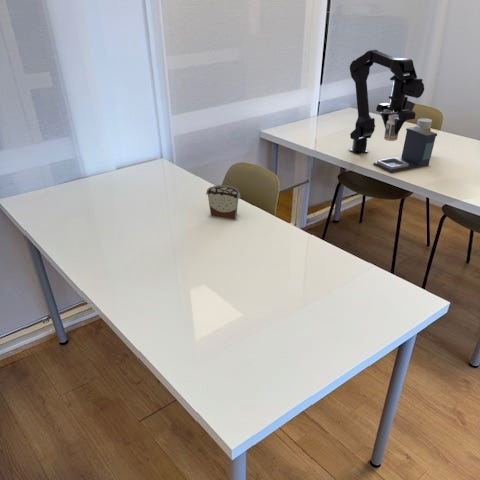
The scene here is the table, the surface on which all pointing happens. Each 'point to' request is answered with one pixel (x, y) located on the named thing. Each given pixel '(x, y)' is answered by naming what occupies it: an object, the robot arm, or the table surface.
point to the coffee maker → (411, 151)
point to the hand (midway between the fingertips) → (391, 132)
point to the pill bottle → (391, 129)
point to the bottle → (424, 123)
